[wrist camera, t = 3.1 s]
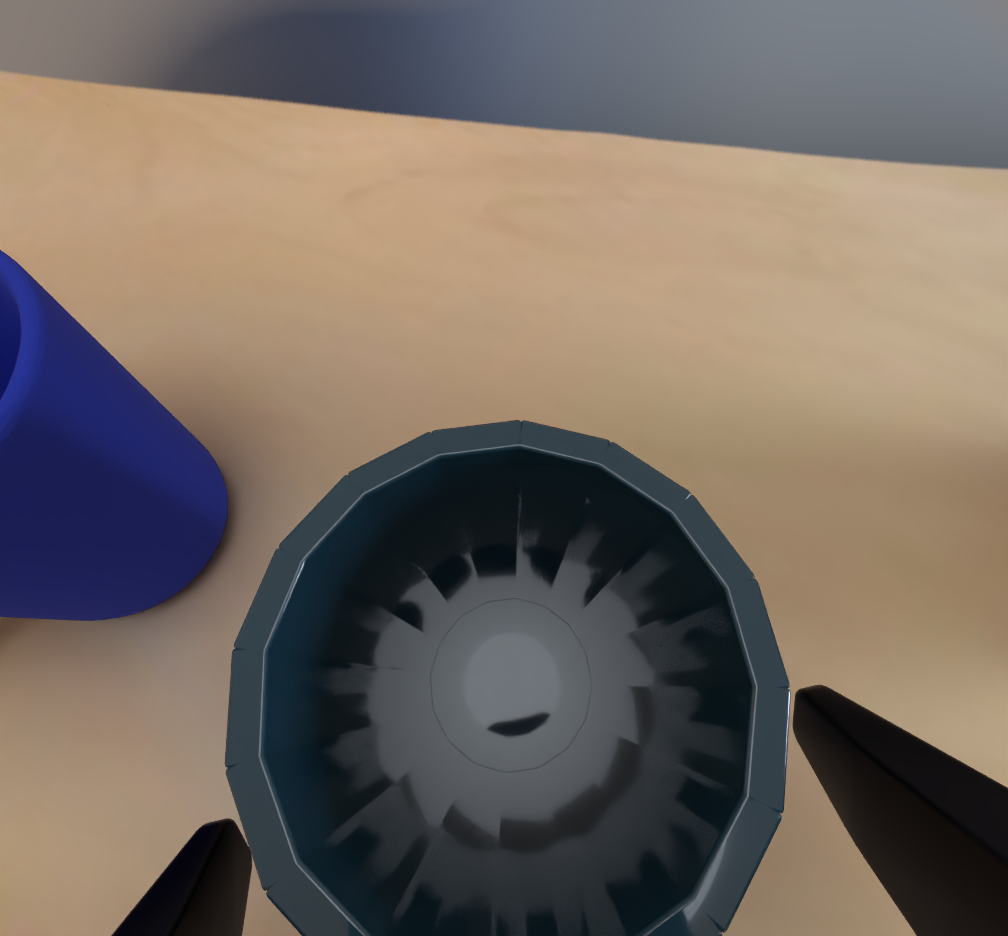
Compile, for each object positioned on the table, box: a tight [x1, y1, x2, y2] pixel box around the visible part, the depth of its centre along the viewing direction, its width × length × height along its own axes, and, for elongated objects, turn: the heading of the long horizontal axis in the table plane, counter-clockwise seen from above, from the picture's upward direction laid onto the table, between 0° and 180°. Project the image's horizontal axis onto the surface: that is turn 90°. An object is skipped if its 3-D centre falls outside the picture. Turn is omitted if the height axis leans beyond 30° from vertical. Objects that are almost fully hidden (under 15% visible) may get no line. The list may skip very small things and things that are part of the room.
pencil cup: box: [225, 420, 791, 936], centre depth 11 cm, size 6×6×13 cm
